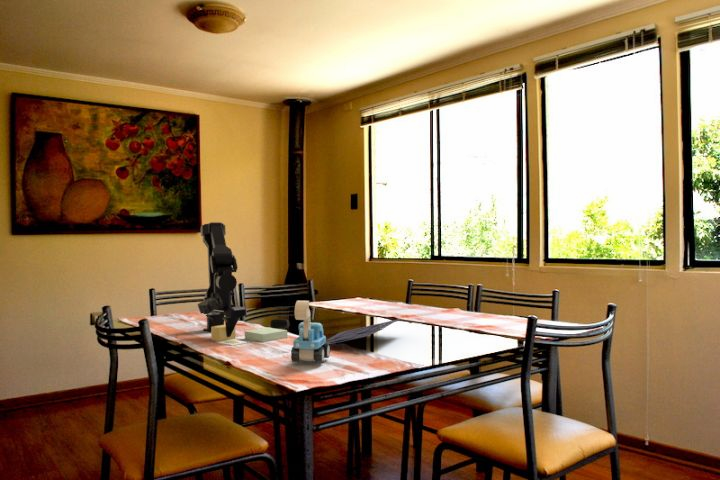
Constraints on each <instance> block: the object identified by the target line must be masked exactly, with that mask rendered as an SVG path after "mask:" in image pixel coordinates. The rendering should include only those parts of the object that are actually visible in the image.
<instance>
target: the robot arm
mask: <svg viewBox="0 0 720 480" xmlns="http://www.w3.org/2000/svg"><path fill="white" fill-rule="evenodd" d="M226 233H227V231H226V224H224V223H223V222H219V221H215V222H214V221H213V222H208V223H203V224H202V225H201V226H200V236H201V237H202V242H203V244H204V245H205V247H206V248H207V265H208V266H207V267H208V288H207V290H206V292H205V294H204V297H203V301H201V302H199V303H197V307H198V310H199V312H200V314H203V315H205V316H206V327H205V328H203V331H208V332H211V327H213V326H220V325H226V335H227V337H230V336H231V334H232V332H233V330H234V328H235V329H236V325H237V323H238V321H239V320H240V318H242V317H244V316H245V317H246V316H247V312H248V311H247V308H246V307H245V306H235V304H233V298H232V297H233V296H235V291H234V290H235V288H236V286H237V282H238V281H237V278H236V277H235V276H234V275H233V273H237V271H238V263H237V258H236V256H235V255H234V253H233V251H232V248H230V247H228V246H227V242H226V238H225V236H226Z"/></svg>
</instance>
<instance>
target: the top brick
mask: <svg viewBox="0 0 720 480" xmlns="http://www.w3.org/2000/svg"><path fill="white" fill-rule="evenodd" d="M210 333H211V334H210V335H211V337H210V338H211V340H212V341H217V342H221V341H227V340H236V327H235V328H234V330H233V332H232V334H231V336H230V337H227V335H226V325H225V324H224V325H220V326H213V327H211V331H210Z"/></svg>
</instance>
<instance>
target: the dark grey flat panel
mask: <svg viewBox="0 0 720 480" xmlns="http://www.w3.org/2000/svg"><path fill="white" fill-rule="evenodd" d="M400 320H401V318H399V319H398V318H397V319H394V320H390V321H385V322H381V323H376V324H371V325H367V326H363V327H358V328H354V329H349V330H343V331H340V332H337V333H336V334H334V335H333V336H331V337H329V338H328V339H326V343H328V344H330V345H332V344H341V343H344V342H345V343H346V342H350V341H354V340H360V339H364V338H366V337H369V336H371V335H372V334H376V333H378V332H380V331H382V330H384V329H385V328H387V327H388V326H390V325H392V324H394V323H395V322H398V321H400Z"/></svg>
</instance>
